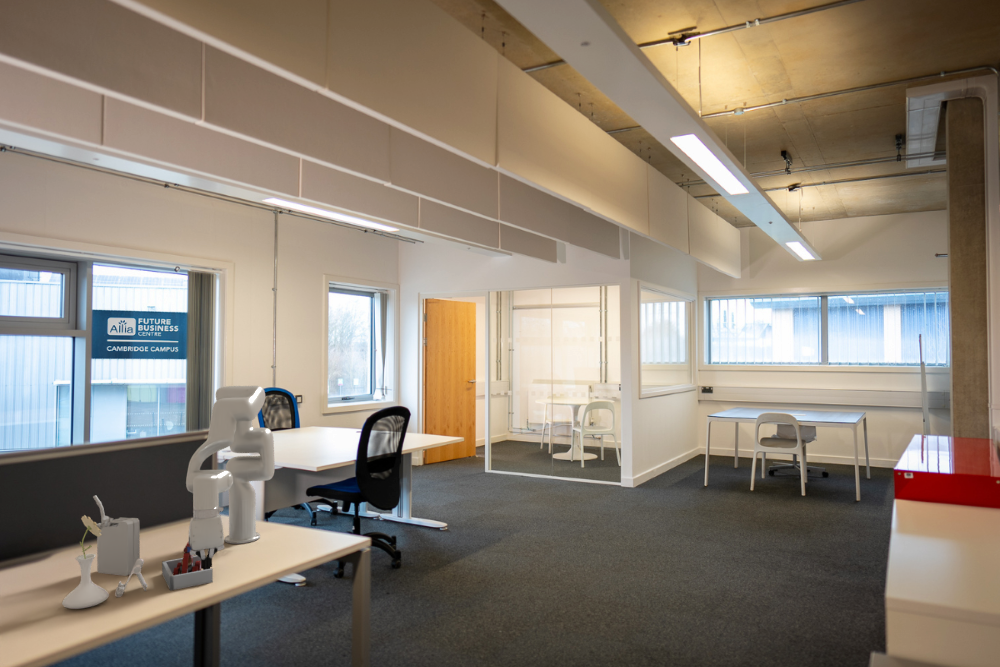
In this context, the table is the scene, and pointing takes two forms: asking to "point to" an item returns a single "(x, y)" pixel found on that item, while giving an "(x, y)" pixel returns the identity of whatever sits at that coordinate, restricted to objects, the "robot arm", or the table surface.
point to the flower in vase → (86, 577)
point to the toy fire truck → (187, 563)
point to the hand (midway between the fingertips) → (206, 570)
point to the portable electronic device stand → (135, 570)
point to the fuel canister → (117, 544)
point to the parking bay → (185, 575)
